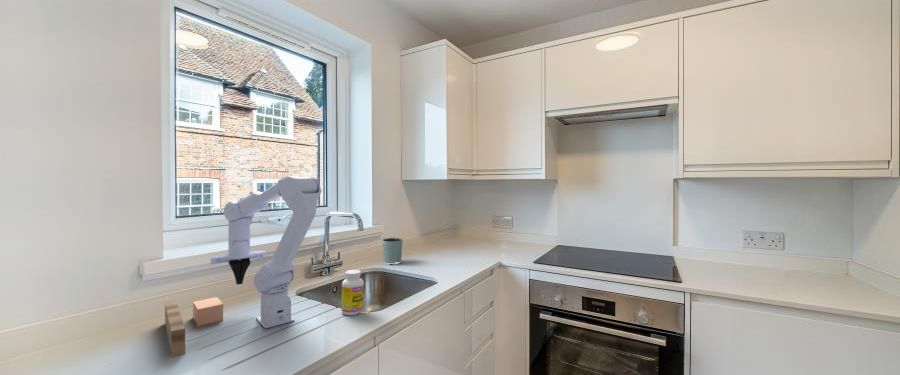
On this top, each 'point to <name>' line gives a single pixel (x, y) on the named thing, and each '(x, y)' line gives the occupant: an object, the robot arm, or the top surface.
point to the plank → (174, 329)
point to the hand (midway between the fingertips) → (239, 283)
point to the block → (207, 311)
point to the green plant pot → (392, 249)
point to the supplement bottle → (352, 293)
